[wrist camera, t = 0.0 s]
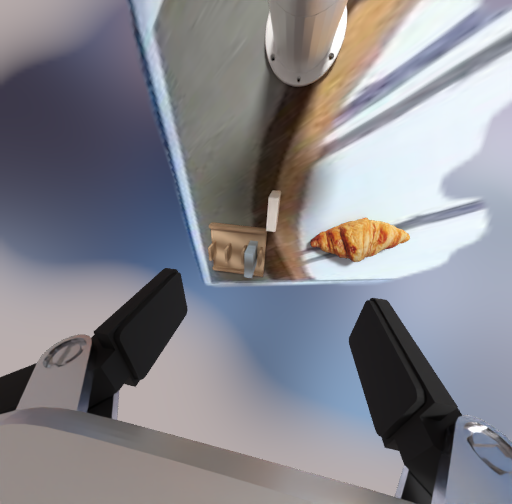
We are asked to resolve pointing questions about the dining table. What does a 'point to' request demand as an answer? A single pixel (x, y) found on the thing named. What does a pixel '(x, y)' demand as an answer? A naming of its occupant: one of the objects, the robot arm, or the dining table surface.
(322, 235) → the croissant
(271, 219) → the low beige gift box
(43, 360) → the robot arm
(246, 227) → the dish rack
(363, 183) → the dining table surface
